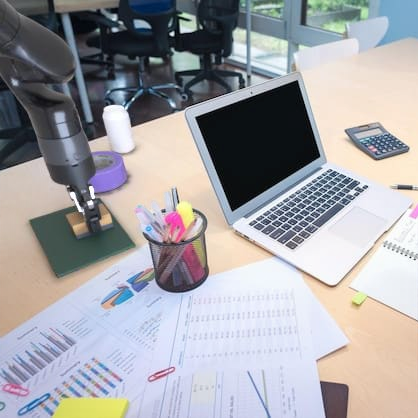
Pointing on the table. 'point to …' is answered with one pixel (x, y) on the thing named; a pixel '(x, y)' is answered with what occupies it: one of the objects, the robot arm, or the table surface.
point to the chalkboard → (77, 241)
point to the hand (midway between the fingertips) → (92, 225)
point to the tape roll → (108, 171)
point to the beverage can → (118, 129)
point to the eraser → (80, 225)
